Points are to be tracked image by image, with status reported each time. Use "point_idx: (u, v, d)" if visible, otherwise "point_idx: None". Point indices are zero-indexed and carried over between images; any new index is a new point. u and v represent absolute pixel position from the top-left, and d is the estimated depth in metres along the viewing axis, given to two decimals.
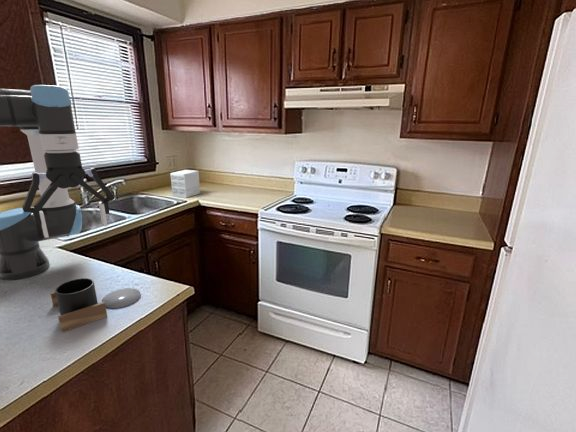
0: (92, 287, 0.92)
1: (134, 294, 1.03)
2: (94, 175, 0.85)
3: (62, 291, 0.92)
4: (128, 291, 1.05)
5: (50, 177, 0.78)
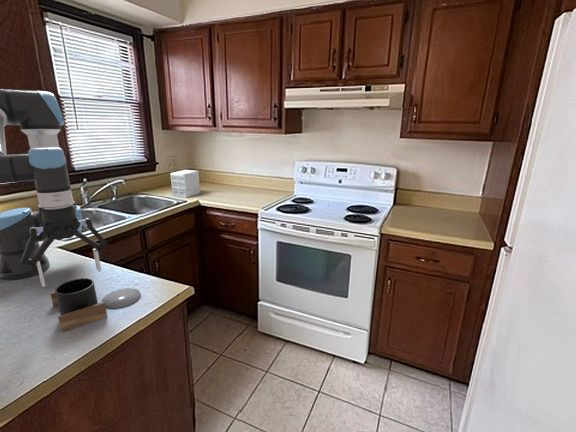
0: (92, 287, 0.92)
1: (134, 294, 1.03)
2: (88, 225, 0.90)
3: (62, 291, 0.92)
4: (128, 291, 1.05)
5: (47, 231, 0.84)
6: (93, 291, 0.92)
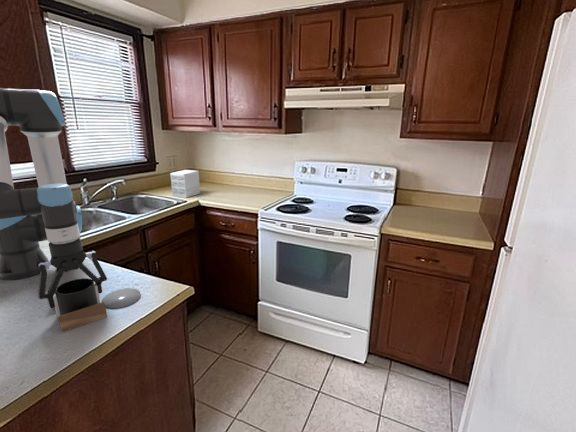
0: (92, 287, 0.92)
1: (134, 294, 1.03)
2: (93, 258, 0.93)
3: (62, 291, 0.92)
4: (128, 291, 1.05)
5: (55, 264, 0.87)
6: (93, 291, 0.92)
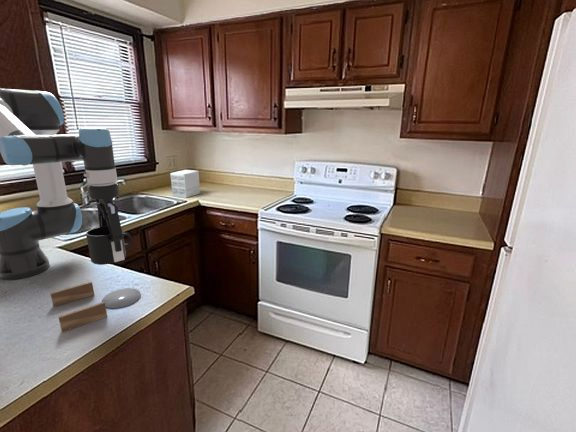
0: (96, 238, 0.89)
1: (134, 294, 1.03)
2: (107, 212, 0.88)
3: None
4: (128, 291, 1.05)
5: (99, 202, 0.94)
6: (98, 243, 0.90)
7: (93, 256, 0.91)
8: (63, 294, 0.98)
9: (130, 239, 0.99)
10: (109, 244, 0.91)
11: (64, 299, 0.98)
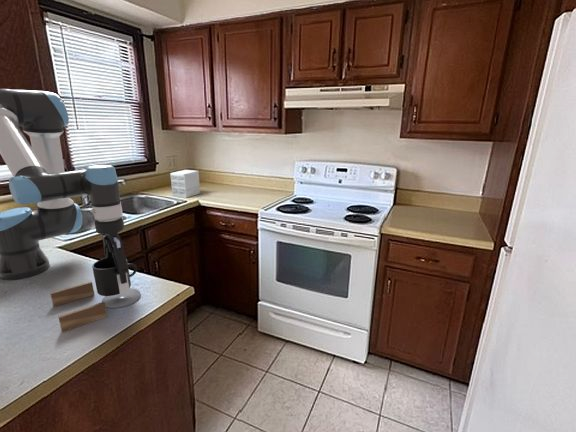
0: (102, 271, 0.92)
1: (134, 294, 1.03)
2: (113, 247, 0.91)
3: None
4: (128, 291, 1.05)
5: (105, 235, 0.97)
6: (104, 276, 0.93)
7: (99, 288, 0.94)
8: (63, 294, 0.98)
9: (135, 269, 1.02)
10: (115, 276, 0.94)
11: (64, 299, 0.98)
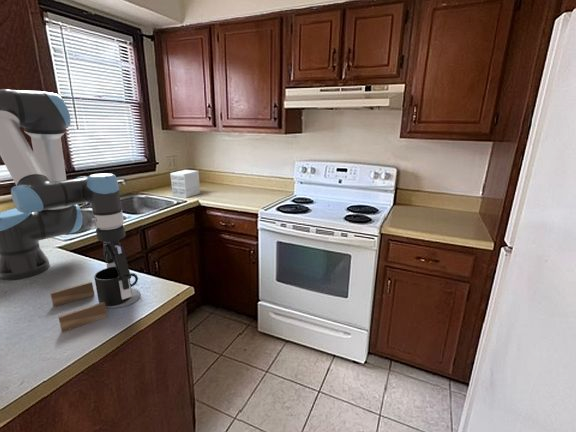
0: (104, 281, 0.93)
1: (134, 294, 1.03)
2: (114, 253, 0.91)
3: None
4: None
5: (106, 242, 0.98)
6: (106, 286, 0.94)
7: (101, 298, 0.95)
8: (63, 294, 0.98)
9: (136, 279, 1.03)
10: (116, 287, 0.95)
11: (64, 299, 0.98)
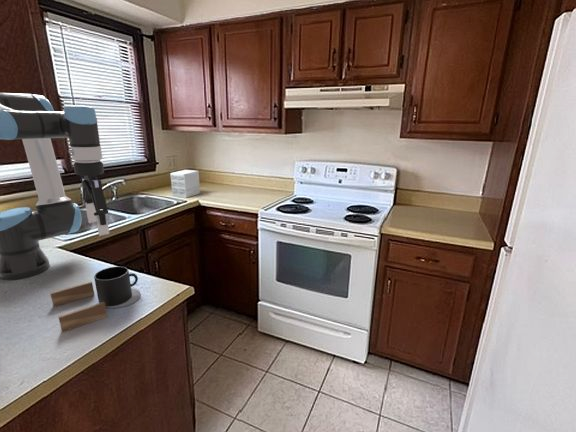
0: (104, 282, 0.93)
1: (134, 294, 1.03)
2: (91, 187, 0.90)
3: (120, 272, 1.02)
4: None
5: (84, 179, 0.97)
6: (106, 286, 0.94)
7: (101, 298, 0.95)
8: (63, 294, 0.98)
9: (136, 279, 1.03)
10: (116, 287, 0.95)
11: (64, 299, 0.98)
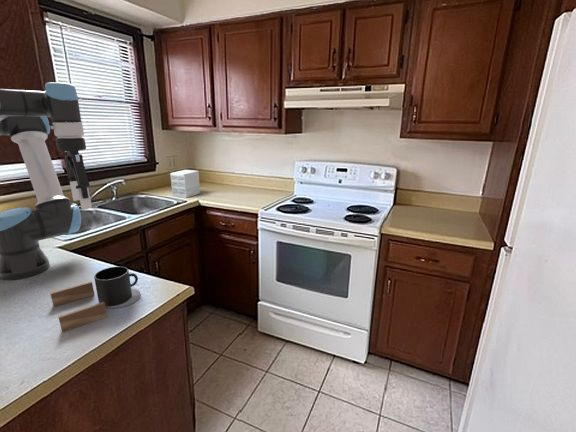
0: (104, 281, 0.93)
1: (134, 294, 1.03)
2: (73, 161, 0.94)
3: (120, 272, 1.02)
4: None
5: (67, 156, 1.00)
6: (106, 286, 0.94)
7: (101, 298, 0.95)
8: (63, 294, 0.98)
9: (136, 279, 1.03)
10: (116, 287, 0.95)
11: (64, 299, 0.98)
